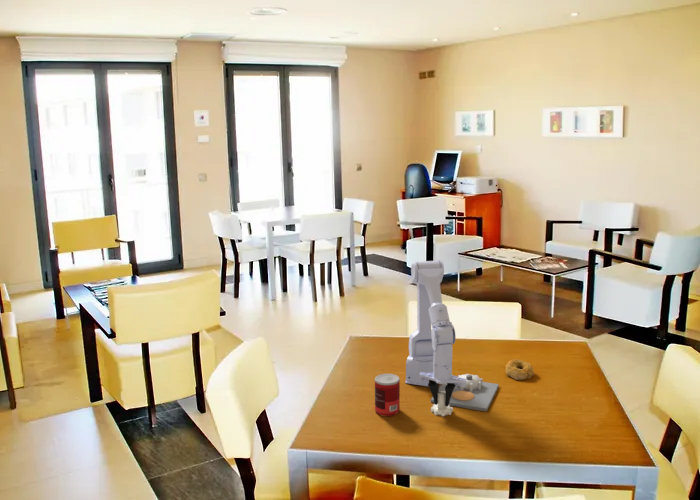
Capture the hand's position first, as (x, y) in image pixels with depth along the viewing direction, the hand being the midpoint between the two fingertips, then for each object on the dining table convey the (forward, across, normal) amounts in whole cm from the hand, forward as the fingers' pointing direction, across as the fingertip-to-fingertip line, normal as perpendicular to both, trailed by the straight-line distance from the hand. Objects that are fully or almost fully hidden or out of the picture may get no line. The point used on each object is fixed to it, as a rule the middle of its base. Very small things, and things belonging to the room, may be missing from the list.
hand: (441, 404), depth 202 cm
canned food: (+3, -16, -6) cm, 17 cm away
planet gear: (+2, 0, 0) cm, 2 cm away
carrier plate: (+2, +4, +15) cm, 16 cm away
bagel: (+3, +18, +38) cm, 42 cm away
